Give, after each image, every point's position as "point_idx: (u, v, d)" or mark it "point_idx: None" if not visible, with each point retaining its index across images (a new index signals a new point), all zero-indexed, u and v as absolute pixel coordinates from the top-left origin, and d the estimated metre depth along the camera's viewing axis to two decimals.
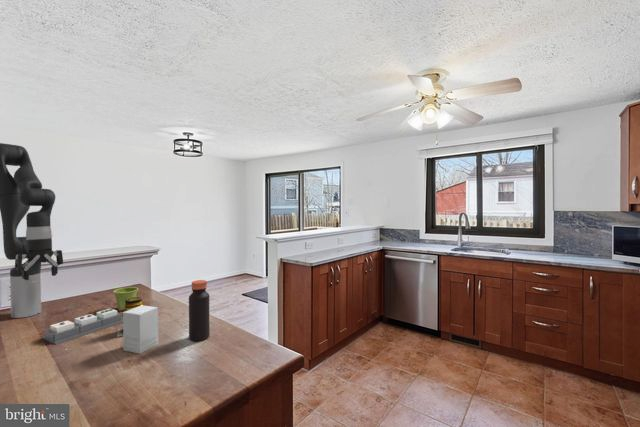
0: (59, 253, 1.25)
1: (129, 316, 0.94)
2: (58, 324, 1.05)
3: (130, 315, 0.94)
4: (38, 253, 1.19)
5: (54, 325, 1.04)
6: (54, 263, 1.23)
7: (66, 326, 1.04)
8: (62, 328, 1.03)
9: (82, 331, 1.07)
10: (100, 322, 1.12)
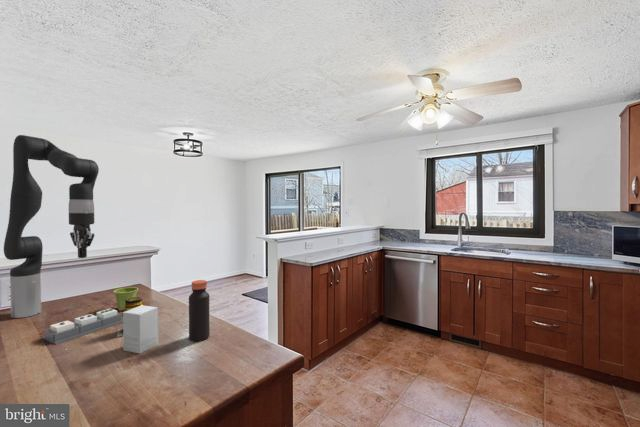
0: None
1: (129, 316, 0.94)
2: (58, 324, 1.05)
3: (130, 315, 0.94)
4: None
5: (54, 325, 1.04)
6: None
7: (66, 326, 1.04)
8: (62, 328, 1.03)
9: (82, 331, 1.07)
10: (100, 322, 1.12)
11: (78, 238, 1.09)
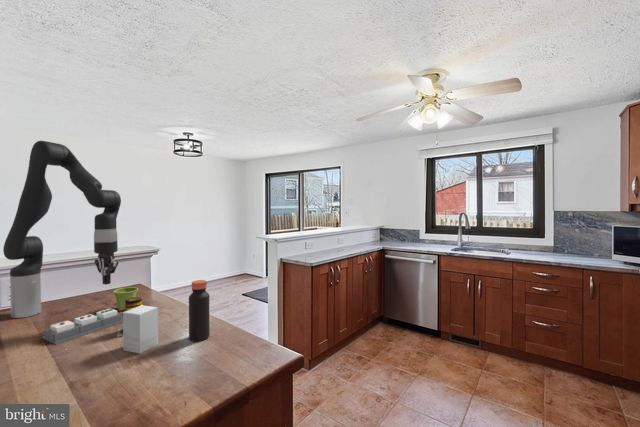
0: None
1: (129, 316, 0.94)
2: (58, 324, 1.05)
3: (130, 315, 0.94)
4: None
5: (54, 325, 1.04)
6: None
7: (66, 326, 1.04)
8: (62, 328, 1.03)
9: (82, 331, 1.07)
10: (100, 322, 1.12)
11: (103, 266, 1.15)
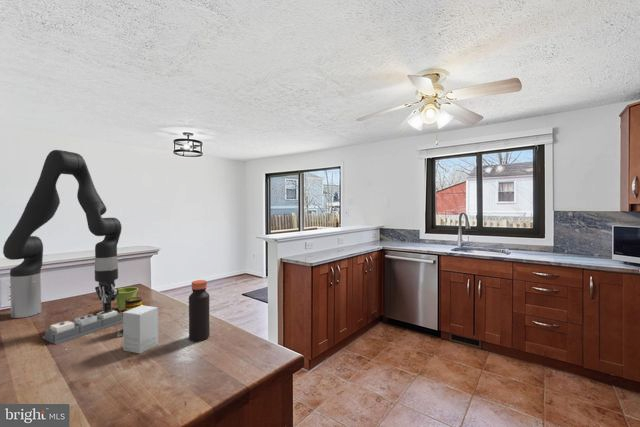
0: None
1: (129, 316, 0.94)
2: (58, 324, 1.05)
3: (130, 315, 0.94)
4: None
5: (54, 325, 1.04)
6: None
7: (66, 326, 1.04)
8: (62, 328, 1.03)
9: (82, 331, 1.07)
10: (100, 322, 1.12)
11: (103, 294, 1.15)
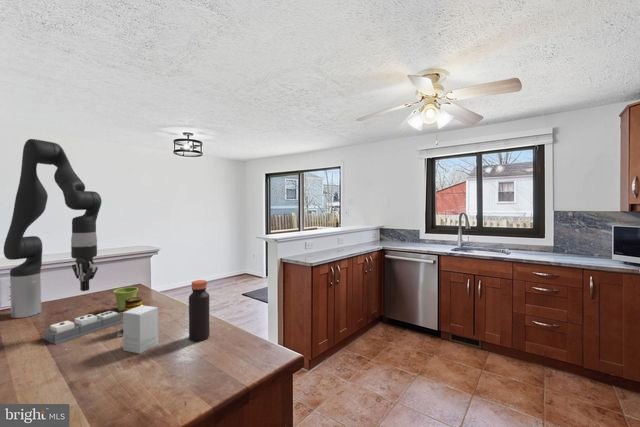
0: None
1: (129, 316, 0.94)
2: (58, 324, 1.05)
3: (130, 315, 0.94)
4: None
5: (54, 325, 1.04)
6: None
7: (66, 326, 1.04)
8: (62, 328, 1.03)
9: (82, 331, 1.07)
10: (100, 322, 1.12)
11: (81, 271, 1.09)
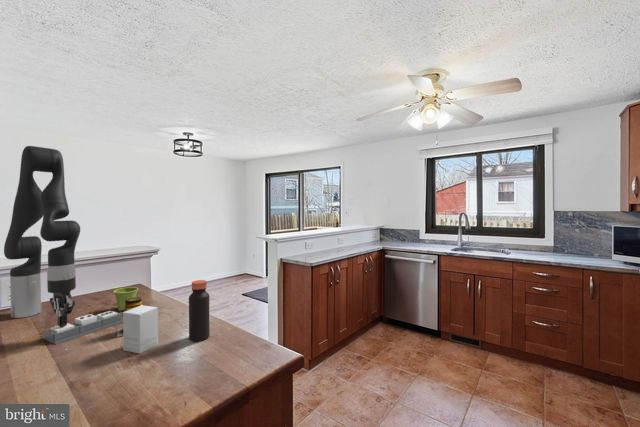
0: None
1: (129, 316, 0.94)
2: (58, 327, 1.05)
3: (130, 315, 0.94)
4: None
5: (54, 328, 1.04)
6: None
7: (66, 329, 1.04)
8: None
9: (82, 331, 1.07)
10: (100, 322, 1.12)
11: (58, 306, 1.03)
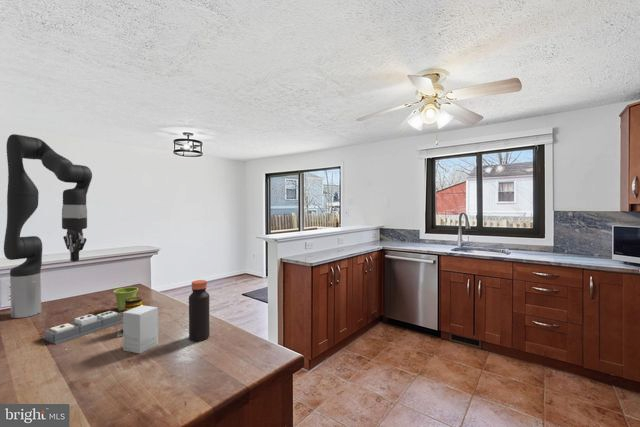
0: None
1: (129, 316, 0.94)
2: (58, 327, 1.05)
3: (130, 315, 0.94)
4: None
5: (54, 328, 1.04)
6: None
7: (66, 329, 1.04)
8: None
9: (82, 331, 1.07)
10: (100, 322, 1.12)
11: (71, 242, 1.12)
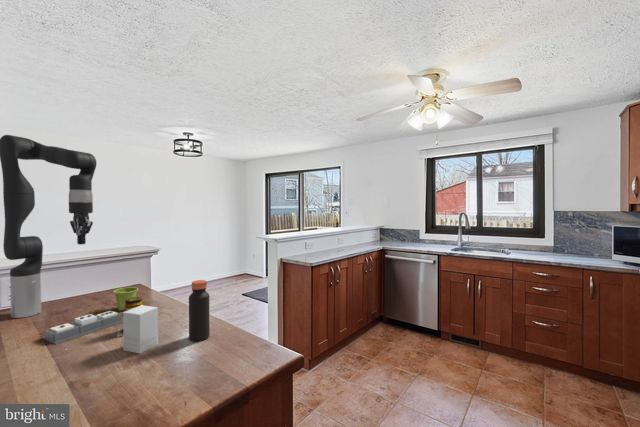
0: None
1: (129, 316, 0.94)
2: (58, 327, 1.05)
3: (130, 315, 0.94)
4: None
5: (54, 328, 1.04)
6: None
7: (66, 329, 1.04)
8: None
9: (82, 331, 1.07)
10: (100, 322, 1.12)
11: (77, 226, 1.18)
